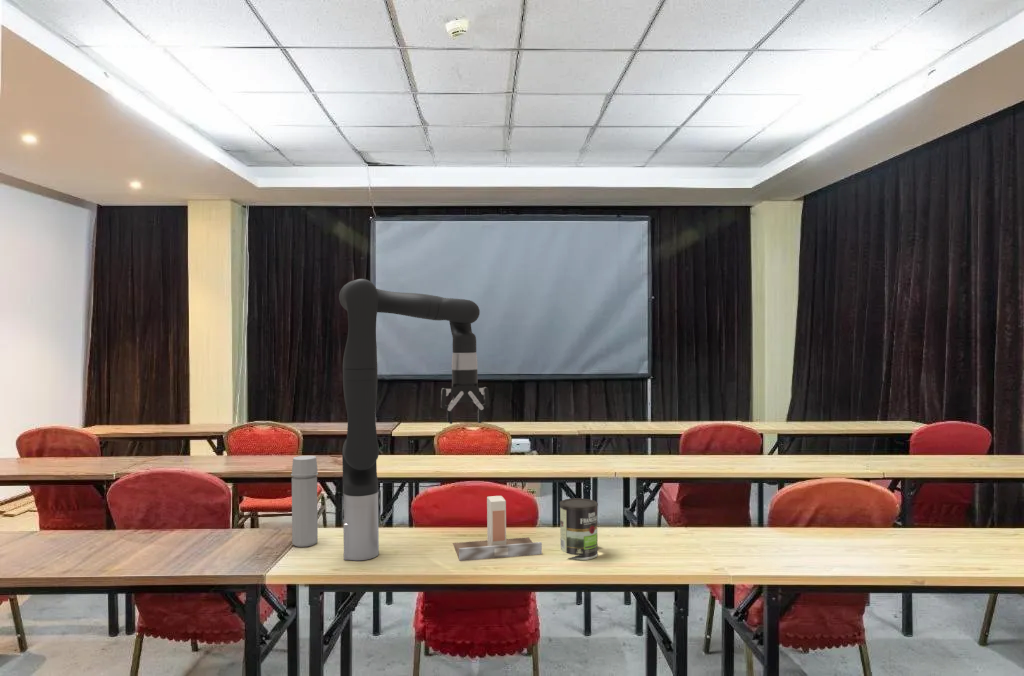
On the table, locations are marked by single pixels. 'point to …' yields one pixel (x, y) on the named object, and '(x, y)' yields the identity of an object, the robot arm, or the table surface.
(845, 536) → the table surface
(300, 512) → the water bottle
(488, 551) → the grey tray
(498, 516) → the tea box
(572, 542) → the coffee can
